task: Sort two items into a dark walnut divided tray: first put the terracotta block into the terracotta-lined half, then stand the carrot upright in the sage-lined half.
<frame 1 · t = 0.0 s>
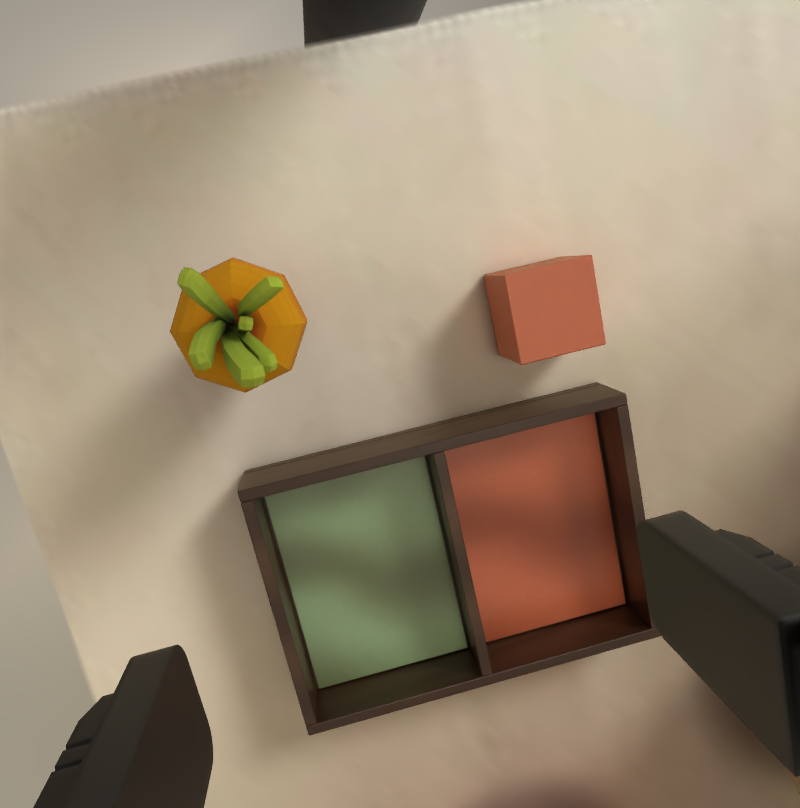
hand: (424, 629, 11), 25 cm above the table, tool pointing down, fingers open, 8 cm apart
terracotta block: (530, 306, 36), on the table
carrot: (260, 310, 35), on the table
sorting tray: (450, 541, 38), on the table
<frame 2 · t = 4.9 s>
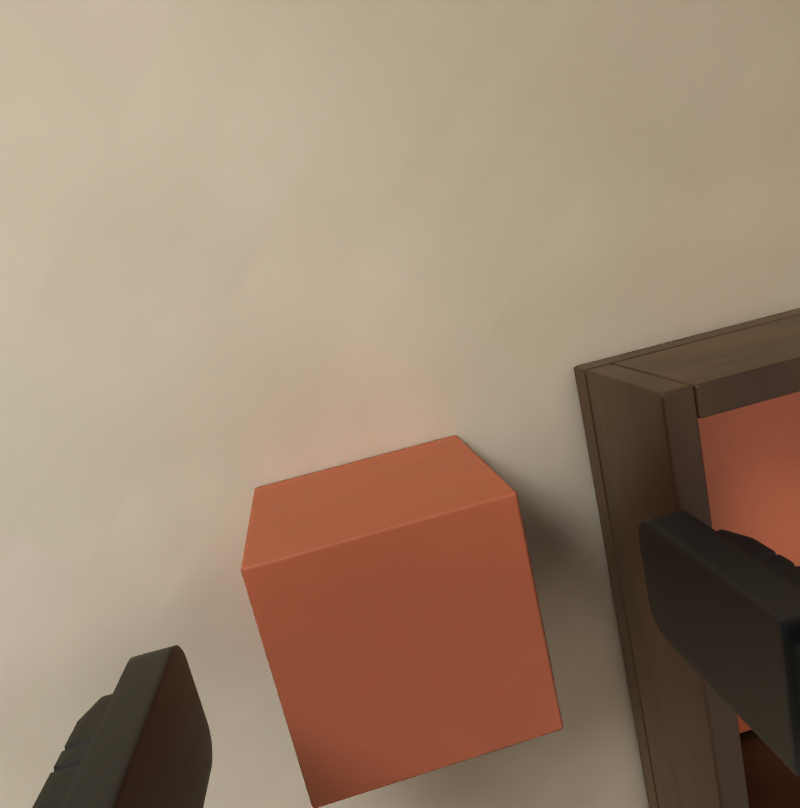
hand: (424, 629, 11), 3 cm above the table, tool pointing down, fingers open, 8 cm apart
terracotta block: (380, 554, 15), on the table
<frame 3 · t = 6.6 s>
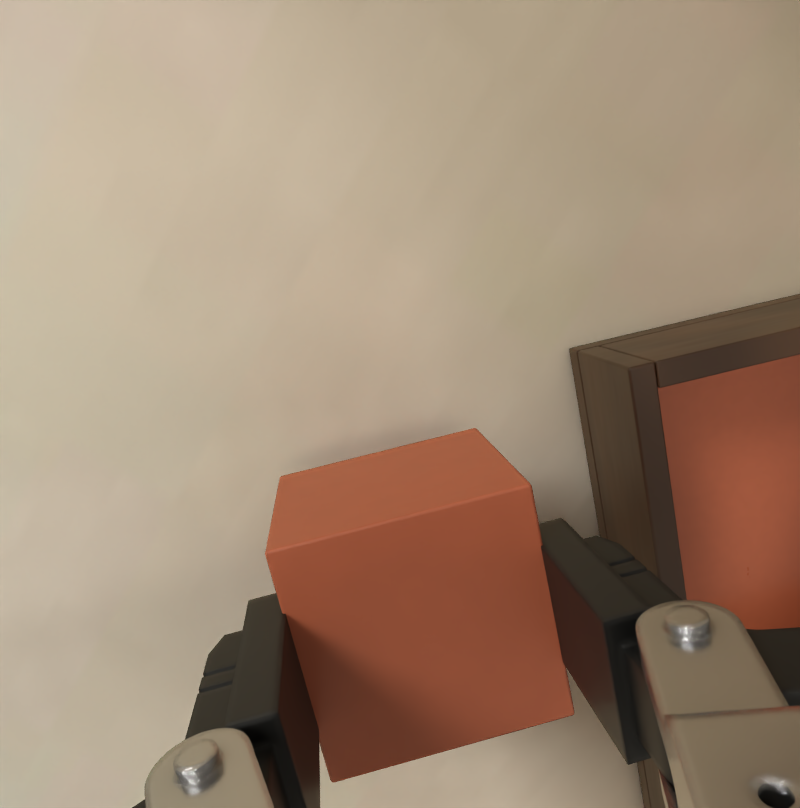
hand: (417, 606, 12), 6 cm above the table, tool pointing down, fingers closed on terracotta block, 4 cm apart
terracotta block: (400, 543, 15), point 3 cm above the table, touching gripper
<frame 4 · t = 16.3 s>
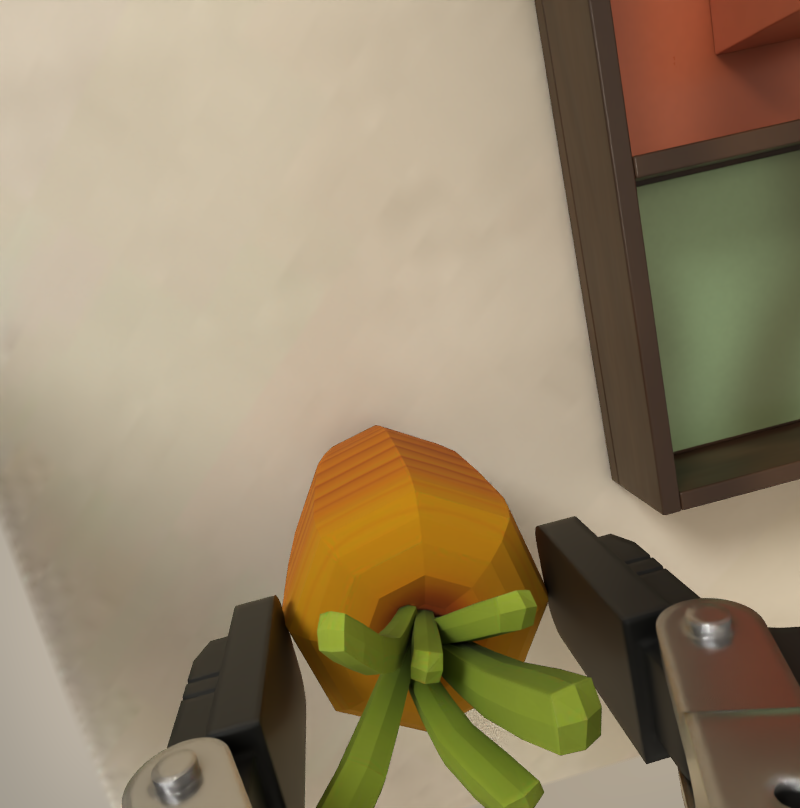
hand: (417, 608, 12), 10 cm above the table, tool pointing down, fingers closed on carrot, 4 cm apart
carrot: (369, 454, 23), on the table, touching gripper
sorting tray: (768, 142, 22), on the table
when the fingers open (11 cm above the table, at t = 22.5 s): carrot stays where it is, resting on sorting tray.
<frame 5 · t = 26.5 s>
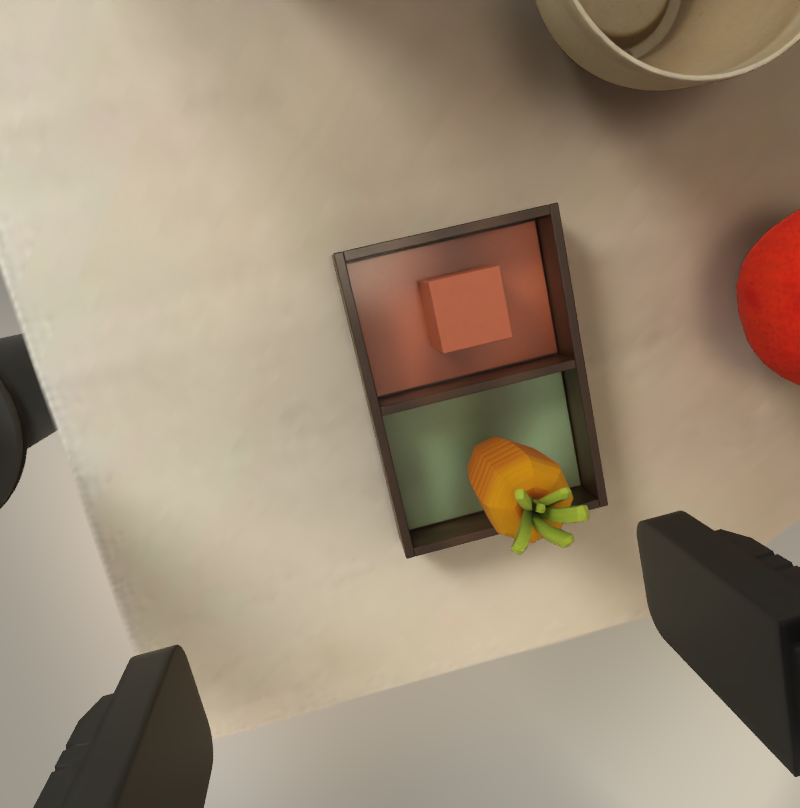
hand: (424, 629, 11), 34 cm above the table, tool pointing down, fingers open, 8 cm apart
apple: (762, 291, 48), on the table
terracotta block: (457, 306, 44), point 1 cm above the table, touching sorting tray
carrot: (481, 449, 46), point 1 cm above the table, touching sorting tray
sorting tray: (466, 378, 46), on the table
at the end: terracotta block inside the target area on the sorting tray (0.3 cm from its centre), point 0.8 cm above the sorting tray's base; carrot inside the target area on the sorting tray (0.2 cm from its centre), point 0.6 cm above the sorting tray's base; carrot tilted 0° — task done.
